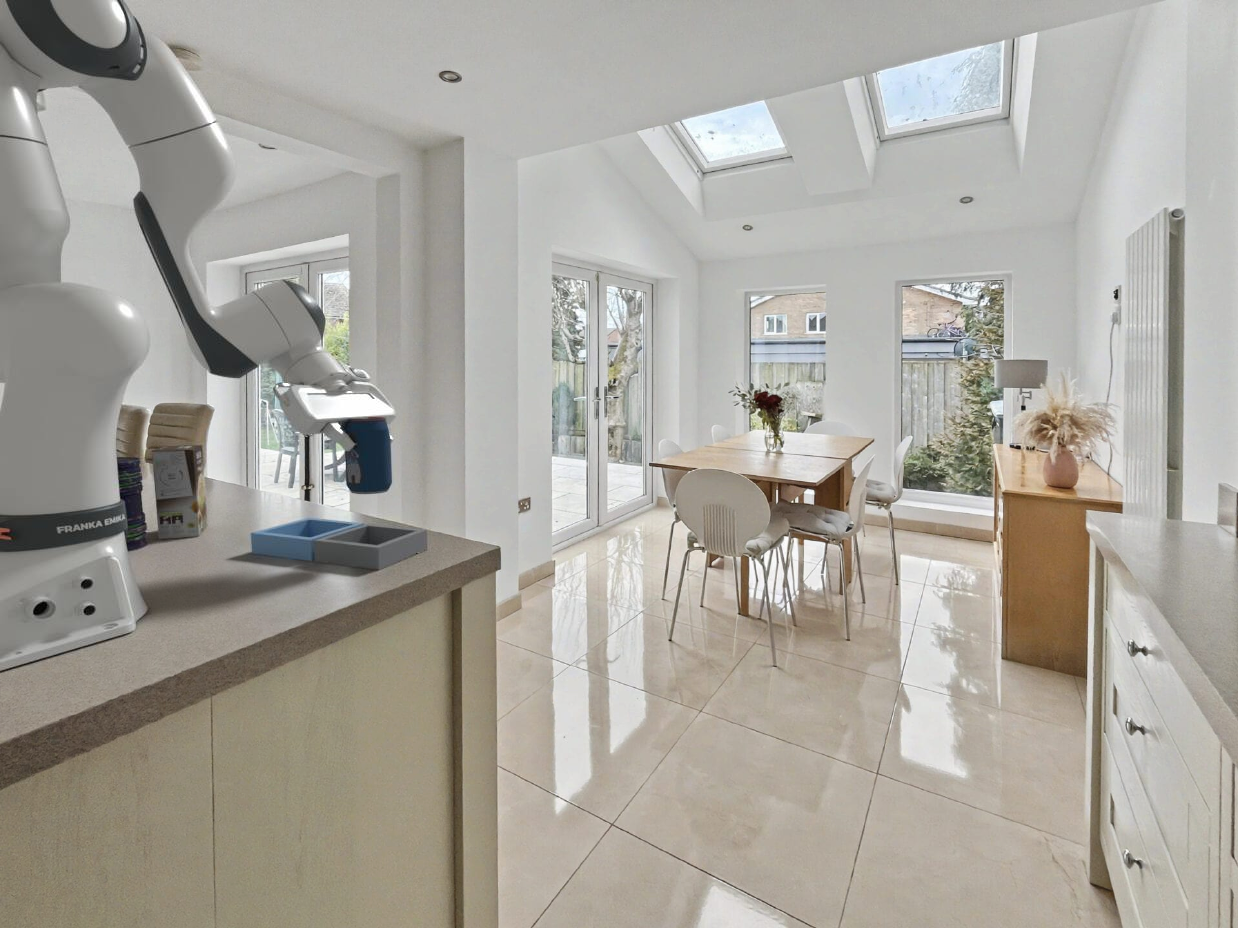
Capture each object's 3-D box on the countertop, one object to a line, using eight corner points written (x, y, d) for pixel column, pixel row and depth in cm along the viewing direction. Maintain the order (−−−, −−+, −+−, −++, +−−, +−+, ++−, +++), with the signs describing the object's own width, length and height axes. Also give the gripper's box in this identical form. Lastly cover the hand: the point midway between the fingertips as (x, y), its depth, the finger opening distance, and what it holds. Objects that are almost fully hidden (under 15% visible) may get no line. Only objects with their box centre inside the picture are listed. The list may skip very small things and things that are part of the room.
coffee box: (200, 536, 115) (193, 449, 112) (158, 540, 112) (150, 450, 110) (209, 525, 123) (202, 444, 121) (169, 528, 120) (162, 445, 118)
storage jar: (62, 550, 104) (52, 461, 102) (130, 537, 113) (122, 455, 111) (91, 559, 100) (82, 466, 98) (160, 545, 108) (152, 459, 106)
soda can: (396, 487, 106) (393, 416, 105) (387, 494, 100) (385, 419, 98) (353, 488, 105) (350, 416, 104) (341, 495, 99) (338, 418, 97)
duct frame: (379, 569, 96) (378, 547, 96) (252, 553, 104) (250, 532, 104) (427, 549, 108) (426, 529, 108) (309, 536, 116) (308, 517, 116)
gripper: (278, 368, 92) (334, 437, 91) (372, 372, 112) (420, 429, 110) (256, 398, 94) (311, 466, 93) (353, 396, 114) (399, 453, 112)
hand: (371, 446), depth 101 cm, fingers closed on soda can, 7 cm apart
